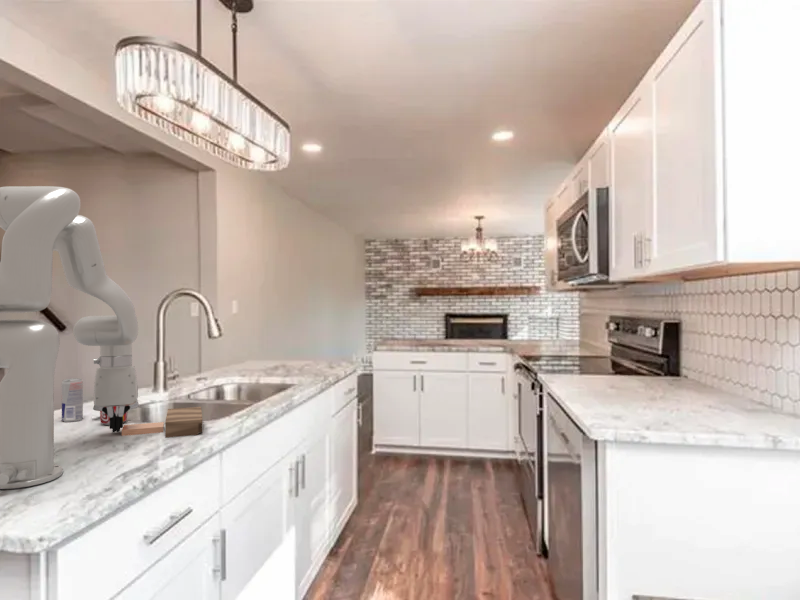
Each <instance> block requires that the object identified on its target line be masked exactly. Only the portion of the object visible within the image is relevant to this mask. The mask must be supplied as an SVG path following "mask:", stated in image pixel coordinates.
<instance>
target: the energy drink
mask: <svg viewBox="0 0 800 600" xmlns="http://www.w3.org/2000/svg"><path fill="white" fill-rule="evenodd" d="M83 384H84V381H83V378H67V379H63V380H62V382H61V421H62V422H63V421H64V422H63V423H73V422H74V421H75V422H80V421H82V420H83V419H84V412H83V411H84V405H83V404H84V400H83V399H84V398H83V397H84V394H83V393H84V385H83Z"/></svg>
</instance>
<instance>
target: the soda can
mask: <svg viewBox="0 0 800 600" xmlns="http://www.w3.org/2000/svg"><path fill="white" fill-rule="evenodd" d="M113 407H114V413H115V414H116V416H117V414H118V413H119V407H120V406H113ZM128 413H129V410H128V411H127V412H126V413H125V414H124V415H123V424H124V423H125V422H126V421H127V420H128ZM99 418H100V419H99V420H100V423H101V424H104V426H110V417H108V415H106V414H105V413H104V412H103V411H99Z"/></svg>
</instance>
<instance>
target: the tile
mask: <svg viewBox="0 0 800 600" xmlns="http://www.w3.org/2000/svg"><path fill="white" fill-rule="evenodd" d="M164 431H165V421H162V422H161V421H160V422H148V423H147V422H146V423H134V424H133V423H132V424H123V428H121V437H125V436H135V435H136V436H137V435H147V434H158V433H164Z"/></svg>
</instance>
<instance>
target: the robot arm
mask: <svg viewBox="0 0 800 600" xmlns="http://www.w3.org/2000/svg"><path fill="white" fill-rule="evenodd" d="M80 210H81V198H80V196H79V194H78V193H77V192H76V191H74V190H73V189H72V188H69V187H63V186H52V185H49V186H48V185H45V186H44V185H43V186H42V185H38V186H37V185H35V186H31V185H29V186H23V185H21V186H15V185H14V186H9V185H8V186H7V185H6V186H1V187H0V228H1V229H2V230H3V231H4V234H3V238H2V240H1V241H2V242H1V252H0V253H1V254H0V313H1V314H2V313H3V314H4V313H5V314H6V313H12V314H13V313H17V314H18V313H23V314H24V313H36V312H40V311H43V310H45V309H46V308H47V307H48V306H49V305H50V302H51V299H52V294H53V293H52V292H53V290H52V289H53V259H54V257H53V256H54V252H55V251H56V252H57V253H58V255H59V259H60V262H61V267H62V270H63V273H64V276H65V281H66V283H67V285H69V287H71V288H73V289H76V290H77V291H79V292H82V293H84V294H87V295H89V296H91V297H94V298H96V299H97V300H100V301H102V302H103V303H105V304H107V305H108V306H109V307H110V308H111V310H112V311H113V312H114V314H115V315H88V316H83V317H81V318H80V319H78V320H77V321H76V322H75V323H74V326H73V330H72V331H73V332H72V333H73V337H74V339H75V341H77V342H78V343H79V344H81V345H83V346H88V347H89V346H90V347H95V346H96V347H98V346H99V357H97V358H94V359H93V364H94V365H95V364H97V365H99V367H97V368H96V370H95V376H94V381H93V382H94V383H93V384H94V385H93V408H92V410H93V411H95V412H96V411H97V412H100V411H103V412H104V413H105V414H106V415H108V417H110V425H109V429H110V430H112V433H120V431H121V429H122V428H123V426H124V423H123V415H124V414H125V413H126V412H127V411H128V412H129V410H134V409H136V408H139V406H140V404H139V400H138V396H139V393H138V388H139V387H138V378H137V371H136V367H135V366H133V343H134V342H135V341H136V339H137V338H138V335H139V325H138V319H137V318H138V317H137V313H136V310H135V306H134V303H133V301H132V299H131V298H130V296H129V295H128V294H127V292H126V291H125V290H124V289H123V288H122V287H121V286H120V284H118V283H116V282H115V280H113V279H112V278H110V277H109V275H108V274H107V271H106V268H105V262H104V258H103V255H102V251H101V246H100V243H99V239H98V234H97V231H96V227H95V225H94V223H93V220H91V219H90V218H88V217H87V216H84V215H82V214H79V213H80ZM60 341H61V339H60V334H59V332H58V330H57V328H56V327H55V326H54V325H52V324H51V323H49V322H47V321H43V320H39V319H28V318H27V319H20V318H19V319H13V318H11V319H0V369H8V370H7V371H6V373H5V374H4V376H3V377H2V379H1V380H0V490H13V489H20V488H27V487H33V486H37V485H43V484H45V483H48V482H50V481H53V480H57V479H58V478H59V477H61V476H62V475H63V472H64V468H63V466H61V465H59V464H56V463H55V397H54V395H55V391H54V390H55V373H56V372H55V371H56V364H57V359H58V354H59V351H60V343H61V342H60ZM113 406H120V407H119V413H118V414H117V416H116V414H115V413H114V407H113Z"/></svg>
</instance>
